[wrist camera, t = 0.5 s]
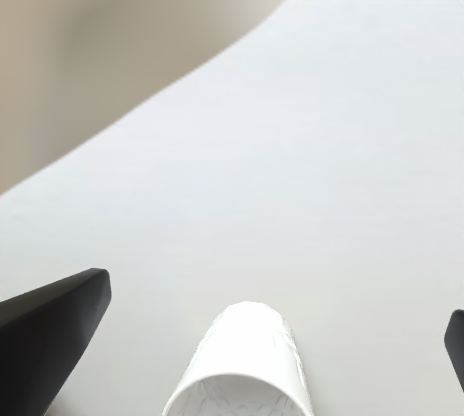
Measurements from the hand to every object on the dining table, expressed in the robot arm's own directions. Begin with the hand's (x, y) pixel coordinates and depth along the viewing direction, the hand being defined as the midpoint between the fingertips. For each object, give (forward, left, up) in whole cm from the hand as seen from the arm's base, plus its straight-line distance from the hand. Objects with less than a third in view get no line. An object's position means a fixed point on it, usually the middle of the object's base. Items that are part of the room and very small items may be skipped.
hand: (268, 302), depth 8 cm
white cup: (-8, -5, -16) cm, 18 cm away
